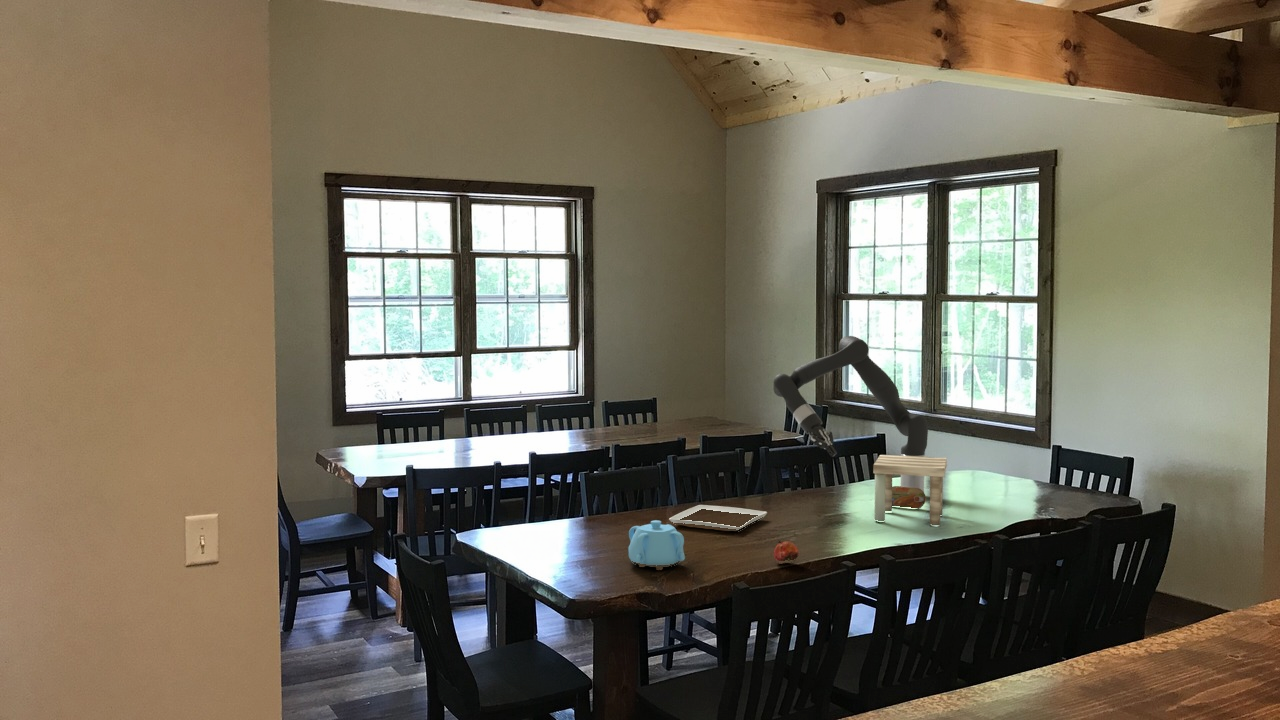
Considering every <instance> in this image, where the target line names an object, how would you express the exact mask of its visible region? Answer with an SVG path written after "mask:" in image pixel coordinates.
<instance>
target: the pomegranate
mask: <svg viewBox="0 0 1280 720" xmlns="http://www.w3.org/2000/svg"><path fill="white" fill-rule="evenodd" d="M777 543H778V544H777V545H776V546H775V548H774V551H773V558H774V561H775V560H778V561H785V560H788V561H790V560H794V559H795V560H797V559H798V557H799V554H800V552H799V549H798V547H797V546H796V545H795V544H794V543H793V542H792V541H788V540H787V541H786V540H785V541H783V542H781V540H778V541H777ZM795 560H794V561H795Z"/></svg>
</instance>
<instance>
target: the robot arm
mask: <svg viewBox="0 0 1280 720" xmlns="http://www.w3.org/2000/svg"><path fill="white" fill-rule="evenodd" d="M869 349H870V348H869V346H868V343H867V342H866V341H864V340H863V339H861V338H859V337H856V336H853V335H847V336H844V337H842V338H841V339H840V341H839V344H838V350H839V351H837V352H835V353H833V354H830V355H827V356H824V357H820V358H817V359H813V360H811V361H808V362H806V363H804V364H802V365H800V366H798V367H796V368H795V369H794V370H793V372H792V373H791V374H789V375H788V374H786V373H778V374H777V375H775V377H774V379H773V384H772V385H773V389H772V390H773V393H774V395H776V396H778V397H781V398H783V400H784V401H785V405H786V407H787V409H788V410H789V412H790V413H791V414H792V416H793V417H794V419H795V422H797V424H798V425H799V426H800V428H802V430H803V432H804V433H805V434H806V435H809V436H810V438H809V439H808V440H809V442H811V443H812V444H814V445H815V446H816V447H818V448H820V449H822V450H823V449H824V450H826V452H827V453H828V454H829V456H830V457H835V456H837V454H838V451H837V449H835V447H834V446H833V444H834V442H835V439H834V436H833V432H832V431H829V432H828V431H827V430H826V429H825V428H824V427H823V426H822V425H823V420H822V419H821V417H819V414H817V413H816V412H815V410H814V409H813V407H812V406H811V405H810V404H809V403H808V402H807V400H806V399H805V398H804V397H803V395H802V394H801V392H800V391H799V389H800V388H801V387H803V386H804V385H807V384H808V383H810V382H812V381H814V380H816V379H818V378H820V377H822V376H824V375H827V374H828V373H831V372H835V371H836V370H838V369H841V368H844V367H846V366H851V367H852V368H853V369H854V370H855V371H856V372H857V374H858V375H859V377H860V379H861V380H862V381H863V383H864V384H865V386H866V387H867V389H868V390H869V391H870V393H871V394H872V395H873V397H874V398H875V399H876V401H878V403H879V404H880V405H881V407H882V408H883V409H884V410H885V412H887V415H888V416H889V417H890V419H891V420H892V422H893V424H894V425H895V428H896V429H897V431H898V432H899V433H900V435H903V436H905V437H907V442H906V444H904V445H902V446H901V447H900V456H917V457H926V449H927V446H928V437H929V426H928V421H927V418H926V417H925V416H923V415H920V414H915V413H911V412H909V410H908V409H907V408H906V407H905V406H904V404H903V402H902V401H901V399H900V394H899V393H900V392H899V390H898V387H897V386H896V385H897V384H895V383H894V381H893V380H892V379H891V377H890V376H889V375H888V374H887V373H886V372H885V371H884V370H883V368H881V367H880V366H879V365H878V364H877V363H875V362H874V361H873V360H872V359H871V357H870V356H869V355H868V354H869ZM900 486H903V487H917V488H919V489H921V490H922V491H923V492H924V493H925V476H915V475H900Z"/></svg>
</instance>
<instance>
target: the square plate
mask: <svg viewBox="0 0 1280 720" xmlns="http://www.w3.org/2000/svg"><path fill="white" fill-rule="evenodd" d="M701 509H706V510H713V511H721V512H729V513H739V514H740V513H741V514H750V515H758V516H756V517H754V518H752V519H751V520H749V521H748V522H746V523H745V524H744V525H742V526H740V527H736V526H730V525H724V524H717V523H711V522H703V521H692V520H680V519H682V518H684V517H687V516H689V515H691V514H693V513H695V512H697V511H699V510H701ZM767 514H768V512H767V511H764V510H757V509H756V510H755V509H749V508H742V507H733V506H732V507H731V506H722V505H721V506H720V505H707V504H698V505H696V506H693V507H690V508H688V509H686V510H683V511H681V512H679V513H677V514H675V515H673V516H671V517H669V518H668V521H670V522H671V523H672V522H673V523H672V524H674V523H683V524H684V523H685V524H695V525H705V526H712V527H720V528H728V529H736V530H739V529H741V528H743V527H745V526H746V525H748V524H750V523H752V522H754V521H756V520H758V519H760V518H762V517H763V518H764V517H765V516H766V515H767ZM763 518H762V519H763ZM760 520H761V519H760ZM758 521H759V520H758ZM754 523H755V522H754ZM752 524H753V523H752ZM745 528H746V527H745Z"/></svg>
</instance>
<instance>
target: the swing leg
mask: <svg viewBox="0 0 1280 720" xmlns="http://www.w3.org/2000/svg"><path fill="white" fill-rule="evenodd" d="M885 475H886V474H876V473H874V519H875V520H878V521H884V520H885V521H886V513H885Z"/></svg>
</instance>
